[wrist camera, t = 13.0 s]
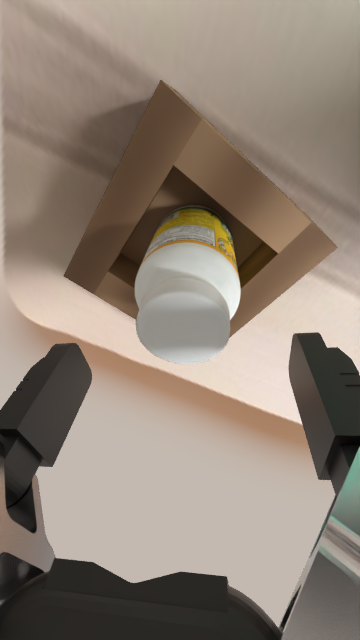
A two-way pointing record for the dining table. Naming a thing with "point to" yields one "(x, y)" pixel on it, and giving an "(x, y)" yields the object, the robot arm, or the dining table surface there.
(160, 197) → the walnut tray
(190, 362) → the supplement bottle
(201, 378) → the dining table surface
